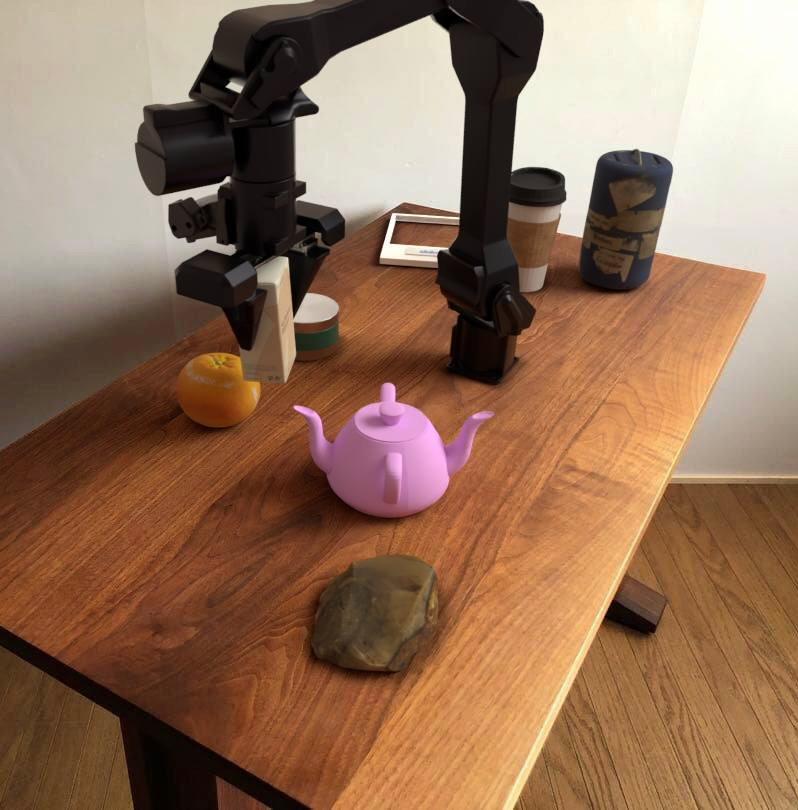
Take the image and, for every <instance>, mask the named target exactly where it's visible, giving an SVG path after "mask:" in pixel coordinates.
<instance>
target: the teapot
mask: <svg viewBox="0 0 798 810" xmlns="http://www.w3.org/2000/svg"><path fill="white" fill-rule="evenodd" d="M293 409H294V411H295V412H297V413H298V414H299V415H300V416H302V417H303V418H304V420H305V421H306V424H307V427H308V432H309V433H308V434H309V449H310V450H309V451H310V454H311V458H312V460H313V462H314V464H315V465H316V466H317V467H318V469H320V470H321V471H322V472H324V473H325V474H326V478H327V481H328V484H329V485H330V488H331V489H332V491H333V492H334V493H335V494H336V496H337V497H338V498H340V499H341V500H342V501H343V502H344V503H346V504H347V505H348V506H350V507H351V508H352V509H354V510H356V511H358V512H360V513H363V514H365V515H368V516H373V517H379V518H395V519H396V518H404V517H407V516H408V517H409V516H413V515H415V514H418V513H420V512H422V511H424V510H426V509H428V508H430V507H431V506H432V505H434V504H435V503H437V502H438V501H439V500H440V499H441V497H442V496H443V495H444V494H445V492H446V490H448V487H449V483H450V477H451V476H454V474H456V473H458V472H459V471H460V470H462V468H464V467H465V465H466V464H467V462H468V460H469V458H470V455H471V453H472V447H473V443H474V438H475V435H476V432H477V431H478V429H479V427H480V426H481V425H482V424H483V423H485V421H487V420H488V419H490V418H492V417H493V416H494V415H495V412H494V411H492V410H485V411H480V412H476V413H474V414H472V415H470V416H469V417H468V418H467V419H465V421H464V422H463V423H462V426H461V429H460V431H459V434H458V436H457V438H456V439H455V440H453V442H451V443H449V444H447V445H445V444H444V442H443V440H442V438H441V436H440V434H439V433H438V431H437V429H436V428H435V426H434V425H433V423H432V422H431V421H430V419H429V418H428V417H427V415H426V414H425V413H424V412H422V411H421V410H420V409H418V408H416V407H415V406H412V405H410V404H406V403H402V402H398V401H396V387H395V385H394V384H393V383H392V382H384V383H383V384H381V386H380V392H379V402H374V403H370V404H368V405H365V406H363V407H361V408H360V409H358V410H357V411H356V412H355V413H354V414H353V415H352V416H350V418H349V420H348V421H347V422H346V423H345V424H344V426H343V427H342V428H341V429H340V431H339V432H338V434H337V435H336V437H335V438H334V441H333V442H332V443H331V442H330V441H328V440H327V439H326V437H325V436H324V430H323V422H322V419H321V417H320V416H319V414H318V413H317V412H316V411H314V410H313V409H311V408H309V407H306V406H302V405H294V406H293Z"/></svg>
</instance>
